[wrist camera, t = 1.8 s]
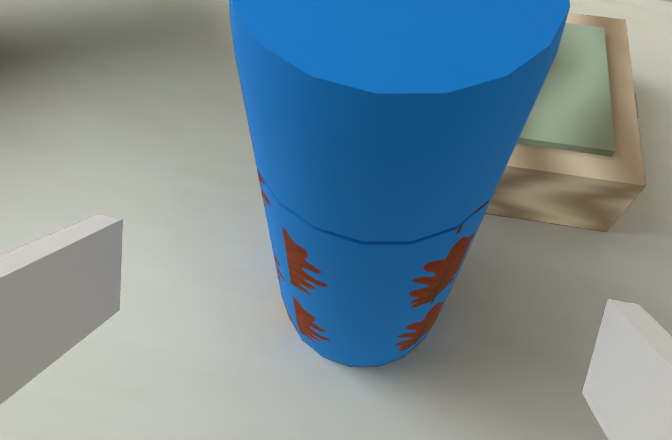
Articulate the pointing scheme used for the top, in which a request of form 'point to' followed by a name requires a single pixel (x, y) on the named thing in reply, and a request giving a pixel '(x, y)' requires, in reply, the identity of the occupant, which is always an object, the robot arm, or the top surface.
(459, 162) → the thermos
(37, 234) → the top surface
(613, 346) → the robot arm
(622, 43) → the wooden box
